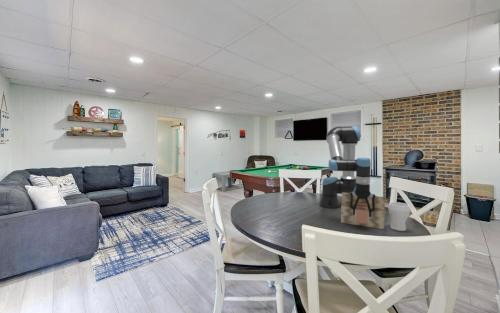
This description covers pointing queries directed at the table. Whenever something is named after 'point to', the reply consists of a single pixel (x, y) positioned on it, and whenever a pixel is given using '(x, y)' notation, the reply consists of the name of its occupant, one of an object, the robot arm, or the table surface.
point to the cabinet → (362, 213)
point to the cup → (398, 215)
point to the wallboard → (376, 216)
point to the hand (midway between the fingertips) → (361, 220)
